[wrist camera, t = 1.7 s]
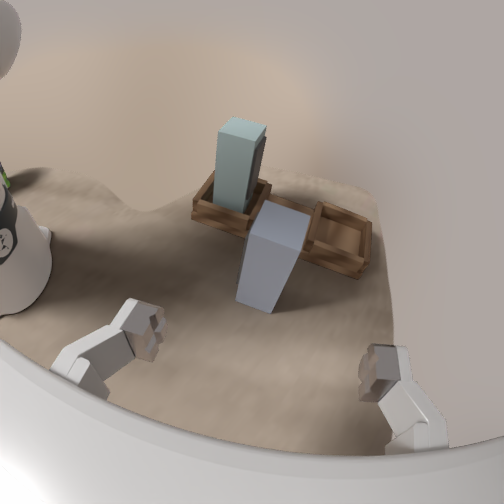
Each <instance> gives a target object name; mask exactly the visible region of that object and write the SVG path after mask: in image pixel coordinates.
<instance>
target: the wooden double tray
mask: <svg viewBox="0 0 504 504" xmlns="http://www.w3.org/2000/svg"><path fill="white" fill-rule="evenodd" d="M214 177H215V170H214V171H213V173H212V174H211V175H210V177H209V178H208V179H207V181H206V182H205V183H204V185H203V186H202V187H201V189H200V190H199V191H198V193H197V194H196V195H195V197H194V198H193V211H192V213H191V219H192V220H195V221H198V222H200V223H203V224H206V225H209V226H212V227H214V228H217V229H220V230H223V231H226V232H228V233H231V234H234V235H237V236H240V237H242V238H245V237H246V235H247V233H248V231H249V229H250V227H251V225H252V223H253V221H254V219H255V216H256V214H257V212H260V210H261V208H262V206H263V203H264V201H265V200H267V201H270V202H273V203H276V204H279V205H282V206H284V207H287V208H290V209H293V210H296V211H298V212H301V213H304V214H307V215H309V216H311V217H310V220H309V224H308V227H307V231H306V234H305V238H304V242H303V245H302V248H301V252H300V254H299V256H298V258H300V259H303V260H306V261H309V262H311V263H314V264H317V265H320V266H322V267H325V268H328V269H330V270H333V271H336V272H338V273H341V274H344V275H347V276H349V277H352V278H355V279H357V280H358V279H359V278H360V277H361V276H362V272H363V271H364V270H365V268H366V267H367V266H368V265H369V263H370V252H371V236H372V222H370V221H368V220H367V218H365V217H363V216H360V215H358V214H355V213H353V212H350V211H348V210H345V209H343V208H340V207H338V206H335V205H332V204H330V203H327V202H325V201H324V202H323V203H322V202H319V201H318V202H317V204H316V207H315V209H311V208H309V207H306V206H303V205H300V204H298V203H295V202H292V201H289V200H286V199H284V198H281V197H278V196H275V195H272V194H270V192H271V188H272V184H269V183H267V181H265V180H262V179H259V178H258V180H257V185H256V187H255V189H254V191H253V196H252V199H251V201H250V203H249V205H248V207H247V209H246V210H245V212H244V214H242V213H239V212H237V211H234V210H231V209H228V208H225V207H222V206H219V205H216V204H213V191H214Z"/></svg>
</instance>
